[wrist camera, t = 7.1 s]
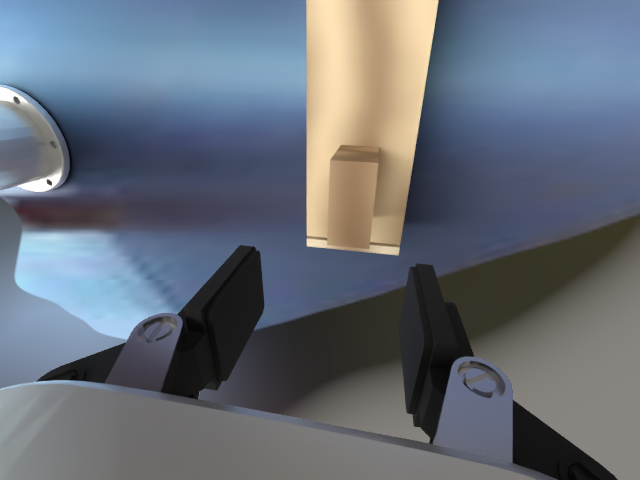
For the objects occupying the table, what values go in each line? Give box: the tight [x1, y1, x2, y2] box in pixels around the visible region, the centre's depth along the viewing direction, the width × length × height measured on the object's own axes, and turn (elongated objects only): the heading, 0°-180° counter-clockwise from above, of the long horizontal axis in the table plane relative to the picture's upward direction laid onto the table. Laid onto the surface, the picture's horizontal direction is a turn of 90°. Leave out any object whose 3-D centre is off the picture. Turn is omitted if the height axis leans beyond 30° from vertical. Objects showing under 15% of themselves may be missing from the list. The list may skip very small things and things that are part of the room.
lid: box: [307, 0, 439, 249], centre depth 21 cm, size 9×19×7 cm, turn 179°
